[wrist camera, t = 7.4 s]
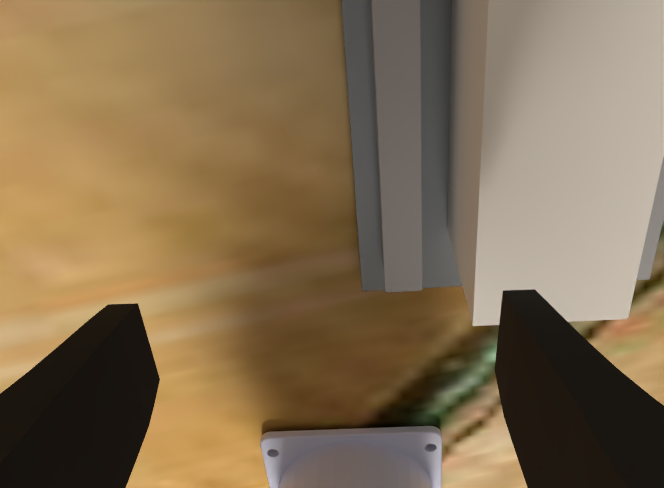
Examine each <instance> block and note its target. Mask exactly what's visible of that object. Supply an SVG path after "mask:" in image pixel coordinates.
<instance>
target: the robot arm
mask: <svg viewBox="0 0 664 488" xmlns="http://www.w3.org/2000/svg"><path fill="white" fill-rule="evenodd" d="M495 373H496V379H497V384H498V389H499V394H500V399H501V404H502V409H503V413H504V418H505V421H506V424H507V427H508V430H509V433H510V436H511V439H512V442H513V445H514V448H515V451H516V454H517V457H518V460H519V463H520V466H521V469H522V472H523V475H524V478H525V481H526V484H527V487H528V488H664V406H663V405H662V404H661V403H659V402H658V401H657V400H655V399H654V398H653V397H652V396H650V395H649V394H648V393H647V392H645V391H644V390H643V389H642V388H640V387H639V386H638V385H637V384H636V383H634V382H633V381H632V380H631V379H629V378H628V377H627V376H626V375H624V374H623V373H622V372H621V371H620V370H619V369H617V368H616V367H615V366H614V365H613V364H612V363H611V362H610V361H608V360H607V359H606V358H605V357H604V356H603V355H602V354H601V353H600V352H599V351H598V350H596V349H595V348H594V347H593V346H592V345H591V344H590V343H589V342H588V341H587V340H586V339H585V338H584V337H583V336H582V335H581V334H579V333H578V332H577V331H576V330H575V329H574V328H573V327H572V326H571V325H570V324H569V323H568V322H567V321H566V320H565V319H564V318H563V317H562V316H561V315H560V314H559V313H558V312H557V311H556V310H555V309H554V308H553V307H552V306H551V305H550V304H549V303H548V302H547V301H546V300H545V299H544V298H543V297H542V296H541V295H540V294H539V293H538V292H537V291H536V290H535V289H531V290H503V293H502V303H501V313H500V323H499V333H498V343H497V353H496V363H495ZM159 380H160V378H159V375H158V372H157V368H156V365H155V361H154V358H153V354H152V351H151V347H150V344H149V341H148V337H147V334H146V330H145V327H144V323H143V320H142V316H141V313H140V309H139V306H138V304H113V305H107V306H106V307H105V308H103V309H102V310H101V311H99V312H98V313H97V314H96V315H95V316H93V317H92V318H91V319H90V320H89V321H87V322H86V323H85V324H84V325H83V326H82V327H80V328H79V329H78V330H77V331H76V332H75V333H73V334H72V335H71V336H70V337H69V338H68V339H67V340H65V341H64V342H63V343H62V344H61V345H60V346H58V347H57V348H56V349H55V350H54V351H52V352H51V353H50V354H49V355H48V356H47V357H45V358H44V359H43V360H42V361H41V362H39V363H38V364H37V365H36V366H35V367H34V368H32V369H31V370H30V371H29V372H28V373H26V374H25V375H24V376H22V377H21V378H20V379H19V380H17V381H16V382H15V383H14V384H12V385H11V386H10V387H8V388H7V389H6V390H5V391H3V392H2V393H1V394H0V488H126V485H127V482H128V480H129V477H130V475H131V472H132V469H133V467H134V464H135V462H136V459H137V456H138V454H139V451H140V448H141V446H142V443H143V440H144V438H145V435H146V432H147V429H148V427H149V423H150V419H151V415H152V411H153V407H154V403H155V398H156V394H157V389H158V385H159ZM428 444H431V445H428ZM260 445H261V450H262V455H263V459H264V464H265V469H266V473H267V478H268V482H269V487H270V488H441V477H442V435H441V431H440V430H439V429H438V428H437V427H434V426H413V427H385V428H357V429H329V430H301V431H273V432H266V433H265V434H263V435H262V437H261V444H260ZM272 449H275V450H272Z"/></svg>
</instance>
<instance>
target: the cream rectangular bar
mask: <svg viewBox="0 0 664 488" xmlns="http://www.w3.org/2000/svg"><path fill="white" fill-rule="evenodd" d="M663 157H664V0H452V25H451V78H450V130H449V182H448V233H449V237H450V241H451V245H452V249H453V253H454V256H455V260H456V264H457V268H458V272H459V276H460V279H461V283H462V287H463V291H464V295H465V299H466V302H467V306H468V310H469V314H470V318H471V321H472V325H473V326H485V325H499V323H500V313H501V303H502V293H503V290H531V289H535V290H536V291H537V292H538V293H539V294H540V295H541V296H542V297H543V298H544V299H545V300H546V301H547V302H548V303H549V304H550V305H551V306H552V307H553V308H554V309H555V310H556V311H557V312H558V313H559V314H560V315H561V316H562V317H563V318H564V319H565V320H566V321H567V322H571V321H592V320H614V319H628V316H629V311H630V307H631V302H632V298H633V293H634V288H635V284H636V279H637V275H638V270H639V266H640V261H641V257H642V252H643V248H644V243H645V238H646V234H647V229H648V225H649V220H650V216H651V211H652V207H653V202H654V198H655V193H656V188H657V184H658V179H659V175H660V170H661V166H662V161H663Z"/></svg>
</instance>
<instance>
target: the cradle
mask: <svg viewBox="0 0 664 488" xmlns="http://www.w3.org/2000/svg"><path fill="white" fill-rule="evenodd" d="M341 1H342V15H343V30H344V44H345V58H346V72H347V86H348V100H349V114H350V128H351V142H352V156H353V170H354V184H355V198H356V212H357V226H358V240H359V254H360V268H361V282H362V291H374V290H385V293H386V292H406V291H422V288H433V287H453V286H462V283H461V279H460V276H459V272H458V268H457V264H456V260H455V256H454V253H453V249H452V245H451V241H450V237H449V233H448V182H449V130H450V78H451V25H452V0H341ZM663 219H664V157H663V161H662V166H661V170H660V175H659V179H658V184H657V188H656V193H655V198H654V202H653V207H652V211H651V216H650V220H649V225H648V229H647V234H646V238H645V243H644V248H643V252H642V257H641V261H640V266H639V270H638V275H637V279H636V280H642V279H650V274H651V270H652V266H653V261H654V257H655V253H656V249H657V244H658V240H659V236H660V231H661V227H662V223H663Z"/></svg>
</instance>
